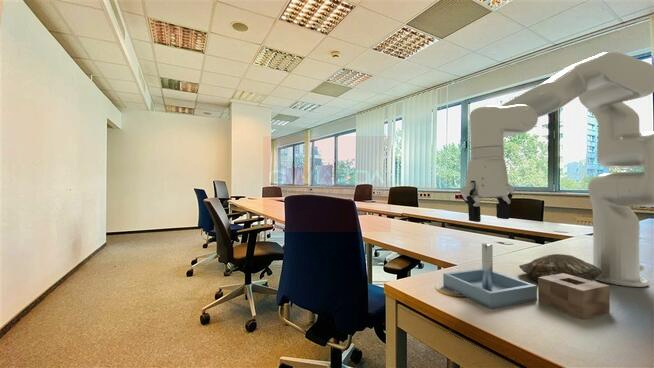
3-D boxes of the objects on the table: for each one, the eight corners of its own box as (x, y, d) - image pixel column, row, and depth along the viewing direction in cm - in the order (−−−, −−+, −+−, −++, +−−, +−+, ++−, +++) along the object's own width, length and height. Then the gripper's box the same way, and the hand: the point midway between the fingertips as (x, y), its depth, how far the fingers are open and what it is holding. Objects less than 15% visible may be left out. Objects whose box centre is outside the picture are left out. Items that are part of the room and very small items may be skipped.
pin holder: (563, 297, 70) (563, 273, 70) (609, 312, 61) (609, 285, 61) (538, 302, 67) (538, 277, 67) (582, 319, 58) (582, 290, 58)
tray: (484, 279, 82) (484, 268, 82) (537, 299, 68) (536, 285, 68) (443, 286, 78) (443, 273, 78) (490, 308, 63) (490, 293, 63)
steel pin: (486, 288, 74) (486, 243, 74) (494, 291, 72) (494, 245, 72) (479, 289, 74) (479, 243, 74) (487, 292, 71) (487, 245, 71)
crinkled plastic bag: (504, 256, 88) (553, 241, 92) (509, 284, 88) (558, 267, 93) (557, 270, 72) (613, 251, 77) (563, 304, 72) (618, 283, 77)
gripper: (498, 156, 79) (500, 216, 79) (449, 156, 74) (451, 220, 74) (524, 153, 72) (526, 219, 72) (472, 153, 67) (475, 224, 67)
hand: (489, 220), depth 73 cm, fingers open, 9 cm apart
